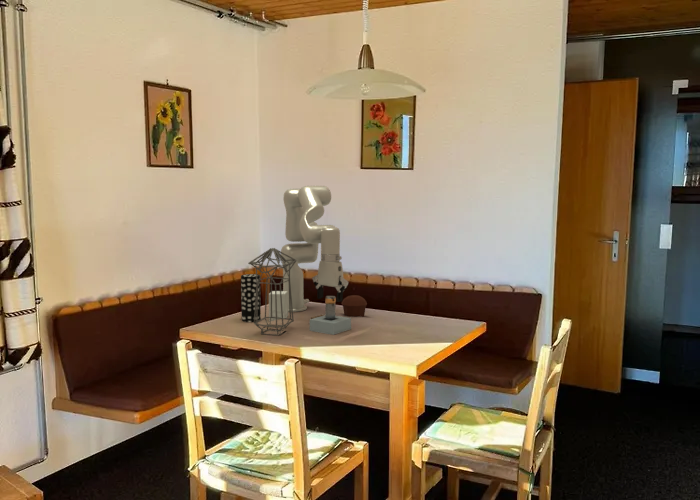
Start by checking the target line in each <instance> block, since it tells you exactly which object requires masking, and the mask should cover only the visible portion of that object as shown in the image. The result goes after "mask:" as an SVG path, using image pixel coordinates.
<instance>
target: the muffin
mask: <svg viewBox="0 0 700 500" xmlns="http://www.w3.org/2000/svg"><path fill="white" fill-rule="evenodd" d="M367 302H368V301H367V300H366V299H365V298H364V297H363V296H360V295H357V294H356V295H355V294H352V295H348V296H346V297H344V298H343V300H342V301H341V302H340V303H341V305H342V308H343V309H342V310H343V315H344V316H346V317H351V318H352V317H353V318H354V317H356V318H357V317H360V318H365V313H366V308H367V306H368V303H367Z"/></svg>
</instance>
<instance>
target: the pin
mask: <svg viewBox="0 0 700 500" xmlns="http://www.w3.org/2000/svg"><path fill="white" fill-rule="evenodd" d="M324 299H325V300H324V301H325V302H324V303H325V314H324V315H325V320H330V321H333V320H335V316H336V302H337V297H336V296H335V295H326V296H325V298H324Z"/></svg>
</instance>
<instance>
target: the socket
mask: <svg viewBox="0 0 700 500" xmlns="http://www.w3.org/2000/svg"><path fill="white" fill-rule="evenodd" d="M323 315H324V316H320V317H317V318H313V319H311V318H310V319H309V323H310V324H309V331H310V332H315V333H321V334H327V335H331V336H333V335H337V334H340V333H343V332H346V331H349V330H352V317H348V316H346V317H345V316H339V315H335V320H333V321H330V320H325V314H323Z"/></svg>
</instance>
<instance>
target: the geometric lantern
mask: <svg viewBox="0 0 700 500" xmlns="http://www.w3.org/2000/svg"><path fill="white" fill-rule="evenodd" d="M272 254H274V257H275V258H272ZM281 254H283V255H285V256H287V257H289V258H291V259H289V260H286V259H285V258H284V257H283V256H282V255H281ZM256 260H257V261H256ZM266 260H267V262H266V265H264V263H265V261H266ZM274 261H276V262H277V263H276V262H274ZM288 261H291V262H290V263H289V262H288ZM296 261H297V260H296V259H294V258H292V257H290V256H288V255H286V254H284V253H282V252H281V250H279V249H277V248H275V247H271V248H269V249H267V250H266V251H264V252H263V253H261V254H259V255H258V256H257V257H255V258H254V259H252V260H250V261H249V262H248V265H251V266H252V267H254V268H255V274H256V298H255V314H254V322H253V324H254V325H255V326H256V327H257V329H259V330H260V335H267V336H278V337H279V336H282V335H283V334H285V333H286V332H287V330H284V329H287V327H288V326H289V325H290V324H292V323H293V322H294V312H293V308H292V296H291V285H290V269H291V268H292V267H293V265H294V264H295V263H296ZM270 262H271V263H272V264H273V265H269V263H270ZM280 262H281V264H280ZM282 262H283V263H284V264H283V263H282ZM285 262H287V263H288V264H285ZM292 263H293V264H292ZM291 264H292V266H291V267H290V265H291ZM288 265H289V270H287V266H288ZM257 266H258V267H257ZM285 267H286V268H285ZM264 268H265V270H264ZM267 268H271V269H270V270H268V269H267ZM278 268H282V269H283V268H284V270H285V274H286V272H288V271H289V275H288V277H289V279H288V278H284V276H285V274H284V276H283V275H282V277H274V274H275V272H276V271H277V269H278ZM262 270H263V271H262ZM258 271H259V272H260V273H261V274H260V279H259V280H258V281H257V274H258ZM272 271H273V272H272ZM270 272H272V274H270ZM263 274H265V276H266V277H263V278H262V276H263ZM287 274H288V273H287ZM265 279H266V280H265ZM269 279H270V282H268V280H269ZM274 279H279V280H280V279H281V281H280V282H279V283H276V282H275V280H274ZM283 279H288V280H287V281H288V282H289V312H288V313H289V317H287V318H283V310H282V295H281V291H282V284H283V283H284V282H283ZM263 280H265V282H263ZM259 281H260V282H259ZM261 281H262V282H261ZM287 281H285V282H287ZM258 283H260V284H266V285H265V303H264V304H265V305H264V317H262V318H261V320H259V321H258ZM268 284H269V285H270V292H271V317H269V316H267V305H268V304H267V301H268ZM273 285H274V291H275V308H276V317H272V291H273ZM278 285H279V291H280V300H281V315H282V318H279V317H277V293H276V291H277V286H278ZM290 300H291V303H290ZM291 311H292V312H291ZM269 318H270V322H268V320H267V319H269ZM271 318H276V320H275V324H272V323H271V322H272V321H271ZM255 319H256V322H255ZM277 319H278V320H281V322H282V323H281V324H278V320H277ZM263 320H265V323H266V324H263V323H262V324H261V323H260V322H261V321H263ZM284 320H287V321H286V323H285V324H284ZM261 326H262V327H261ZM266 327H267V328H266ZM265 328H266V329H265ZM274 328H275V329H274ZM278 328H279V329H278ZM267 331H268V332H270V331H271V332H276V333H277V334H275V333H274V334H271V333H265V332H267ZM281 332H282V333H281Z"/></svg>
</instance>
